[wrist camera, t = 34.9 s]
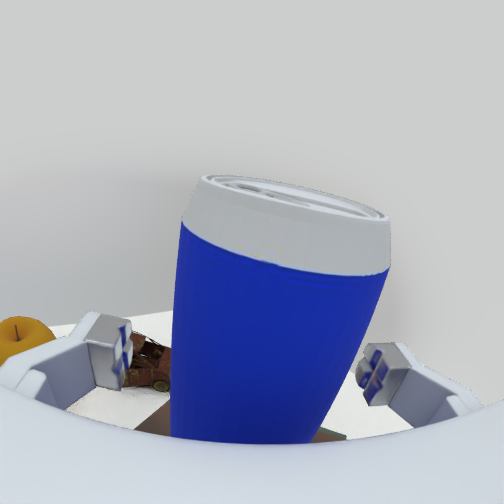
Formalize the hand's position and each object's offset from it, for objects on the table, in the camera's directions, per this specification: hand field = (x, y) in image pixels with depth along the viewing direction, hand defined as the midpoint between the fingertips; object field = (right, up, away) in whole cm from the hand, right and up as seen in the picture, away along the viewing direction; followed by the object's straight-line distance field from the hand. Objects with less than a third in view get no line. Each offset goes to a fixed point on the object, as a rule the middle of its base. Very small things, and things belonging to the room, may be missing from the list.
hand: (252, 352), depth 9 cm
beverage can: (-2, -9, +2) cm, 10 cm away
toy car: (-14, -11, +21) cm, 28 cm away
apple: (-24, -12, +14) cm, 30 cm away
